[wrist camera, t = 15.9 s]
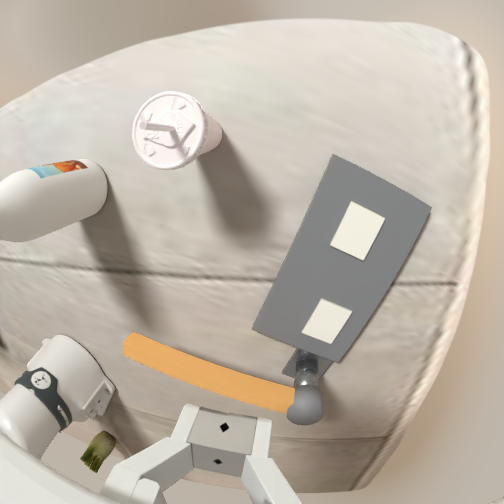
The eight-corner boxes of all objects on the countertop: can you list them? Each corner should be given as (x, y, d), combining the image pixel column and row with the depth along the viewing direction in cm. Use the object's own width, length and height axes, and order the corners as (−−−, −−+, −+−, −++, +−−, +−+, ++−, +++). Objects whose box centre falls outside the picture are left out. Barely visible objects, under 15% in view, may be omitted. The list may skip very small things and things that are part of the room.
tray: (337, 356, 35) (338, 364, 34) (253, 324, 36) (251, 330, 34) (427, 205, 27) (433, 207, 26) (332, 154, 28) (333, 154, 26)
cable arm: (327, 388, 30) (328, 408, 27) (314, 408, 32) (313, 427, 29) (133, 324, 32) (120, 339, 29) (133, 347, 33) (121, 362, 30)
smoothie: (237, 160, 29) (186, 169, 16) (181, 167, 31) (103, 183, 18) (232, 101, 27) (177, 68, 14) (176, 111, 29) (95, 95, 16)
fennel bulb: (98, 426, 55) (76, 458, 44) (114, 433, 55) (93, 467, 44) (104, 438, 57) (84, 468, 46) (119, 444, 57) (100, 477, 46)
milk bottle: (118, 176, 32) (-20, 215, 14) (97, 225, 35) (-21, 287, 17) (80, 148, 32) (-49, 171, 13) (63, 196, 35) (-52, 239, 16)
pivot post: (314, 381, 38) (313, 410, 32) (282, 370, 38) (278, 399, 33) (332, 358, 36) (334, 387, 31) (298, 345, 36) (296, 374, 31)
